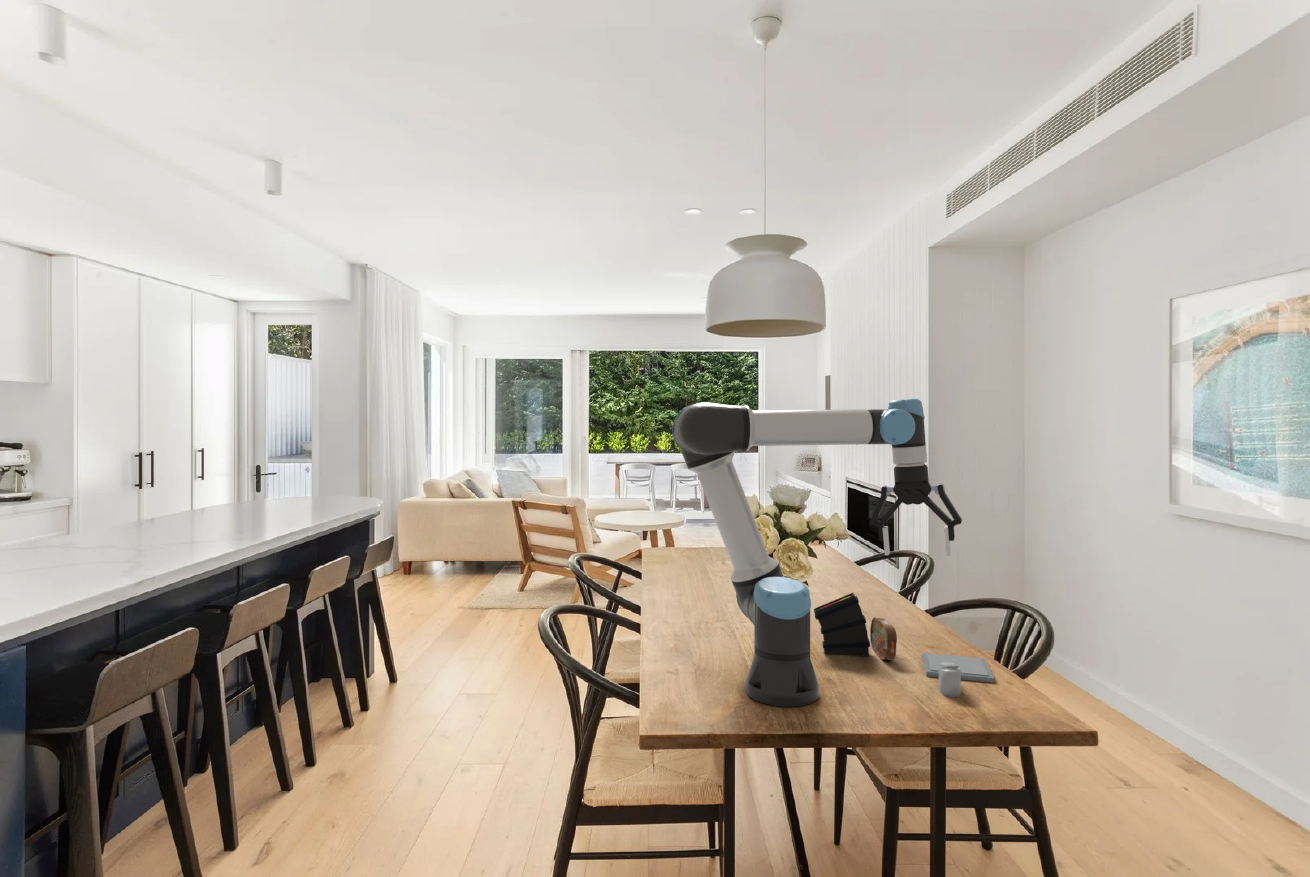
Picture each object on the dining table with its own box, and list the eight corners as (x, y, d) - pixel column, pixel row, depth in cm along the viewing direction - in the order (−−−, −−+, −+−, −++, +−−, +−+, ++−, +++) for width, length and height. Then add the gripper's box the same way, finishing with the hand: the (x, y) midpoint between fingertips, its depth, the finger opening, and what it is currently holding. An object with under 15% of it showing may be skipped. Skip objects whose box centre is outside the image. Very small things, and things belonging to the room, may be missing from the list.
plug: (941, 695, 143) (941, 672, 143) (936, 680, 152) (936, 658, 152) (961, 698, 142) (961, 674, 142) (956, 682, 151) (956, 659, 151)
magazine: (883, 651, 167) (855, 595, 168) (832, 671, 169) (806, 615, 171) (881, 646, 171) (854, 591, 172) (832, 666, 173) (806, 611, 174)
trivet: (926, 676, 155) (926, 670, 155) (921, 656, 168) (921, 651, 168) (994, 682, 150) (994, 677, 150) (984, 662, 164) (984, 657, 164)
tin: (869, 645, 177) (869, 613, 177) (881, 645, 177) (881, 613, 177) (885, 665, 162) (885, 629, 162) (898, 665, 162) (898, 629, 162)
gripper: (969, 460, 158) (976, 551, 158) (859, 465, 170) (865, 550, 170) (967, 463, 151) (974, 558, 152) (853, 468, 163) (860, 556, 163)
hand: (917, 554), depth 161 cm, fingers open, 13 cm apart
